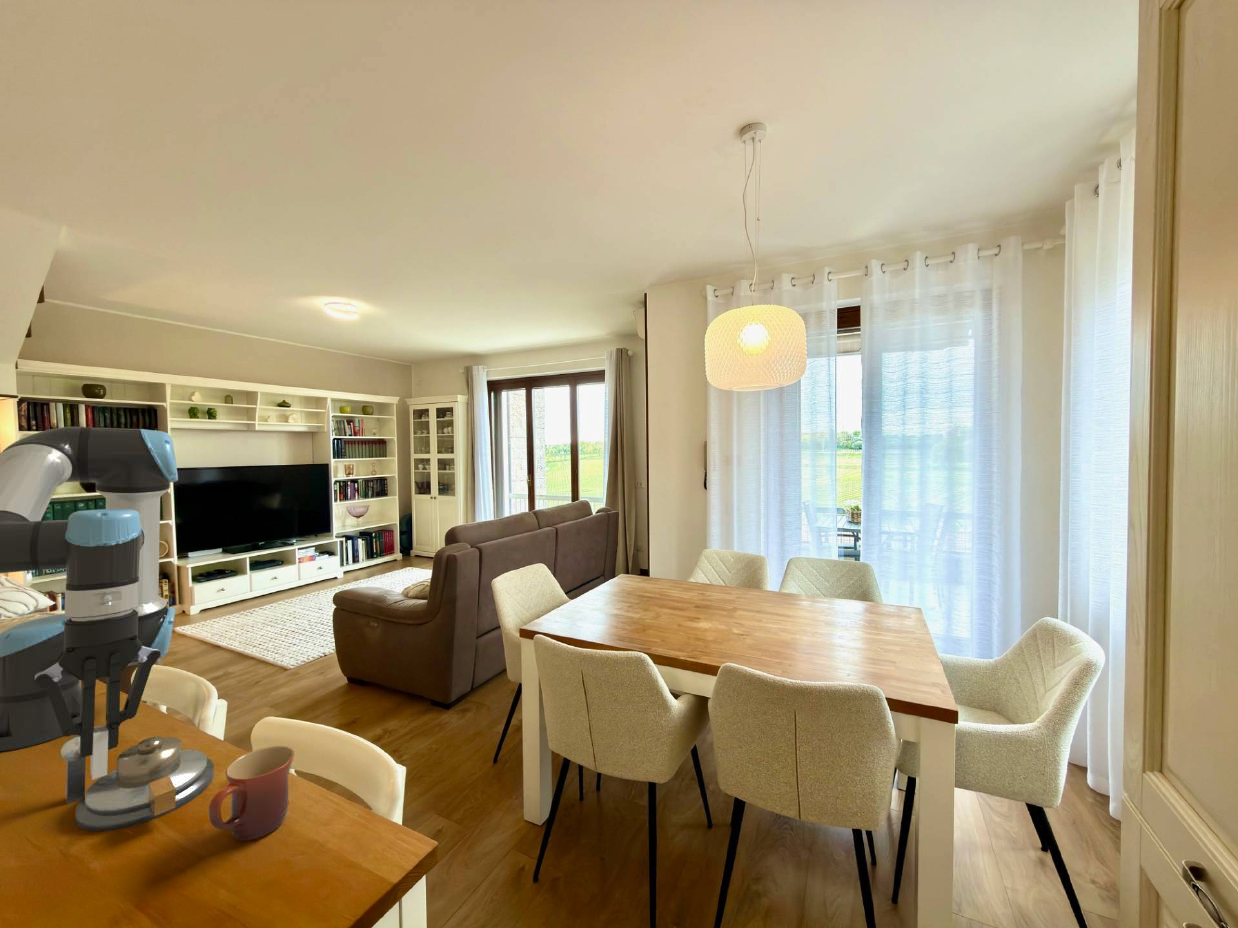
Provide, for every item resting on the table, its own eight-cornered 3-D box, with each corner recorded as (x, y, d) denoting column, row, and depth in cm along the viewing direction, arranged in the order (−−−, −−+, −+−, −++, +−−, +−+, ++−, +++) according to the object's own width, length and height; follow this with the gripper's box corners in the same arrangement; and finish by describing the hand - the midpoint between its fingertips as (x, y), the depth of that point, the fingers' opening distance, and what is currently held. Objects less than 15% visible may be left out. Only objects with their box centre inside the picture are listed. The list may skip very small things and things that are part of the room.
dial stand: (58, 801, 81) (60, 736, 81) (90, 790, 84) (91, 728, 84) (59, 808, 79) (61, 743, 79) (92, 797, 82) (93, 733, 82)
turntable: (80, 787, 82) (80, 764, 82) (195, 747, 94) (195, 728, 94) (94, 845, 70) (95, 819, 70) (225, 791, 82) (225, 769, 82)
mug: (262, 802, 82) (263, 742, 82) (306, 811, 80) (307, 749, 80) (185, 859, 70) (187, 788, 70) (235, 870, 68) (236, 797, 68)
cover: (112, 774, 83) (113, 742, 83) (175, 753, 90) (175, 723, 90) (120, 794, 78) (121, 760, 78) (185, 770, 85) (186, 739, 85)
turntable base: (70, 798, 82) (70, 789, 82) (200, 752, 95) (200, 745, 95) (80, 848, 71) (81, 838, 71) (225, 789, 85) (225, 780, 85)
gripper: (35, 629, 64) (30, 808, 64) (167, 608, 75) (163, 762, 74) (32, 619, 69) (28, 785, 69) (157, 600, 79) (154, 745, 79)
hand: (98, 773), depth 71 cm, fingers closed
